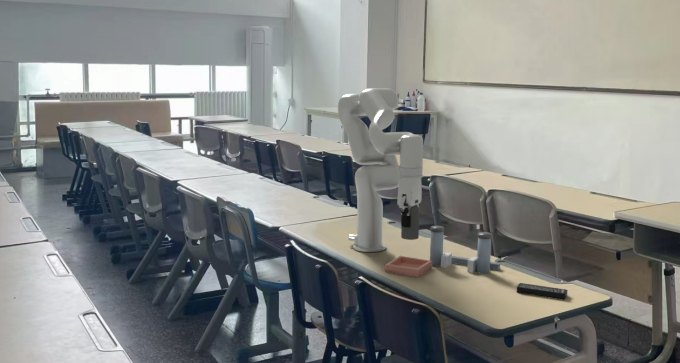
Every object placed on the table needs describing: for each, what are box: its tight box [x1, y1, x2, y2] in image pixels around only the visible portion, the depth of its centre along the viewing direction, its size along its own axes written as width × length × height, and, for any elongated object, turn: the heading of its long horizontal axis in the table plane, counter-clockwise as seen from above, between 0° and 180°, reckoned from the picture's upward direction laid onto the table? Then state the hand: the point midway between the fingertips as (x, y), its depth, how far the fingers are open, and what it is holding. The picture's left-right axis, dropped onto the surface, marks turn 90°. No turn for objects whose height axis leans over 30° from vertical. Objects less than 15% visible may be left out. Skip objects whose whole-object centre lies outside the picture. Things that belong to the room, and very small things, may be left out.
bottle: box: [400, 200, 420, 241], centre depth 229 cm, size 6×6×15 cm
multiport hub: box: [516, 282, 568, 301], centre depth 208 cm, size 4×14×2 cm, turn 63°
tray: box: [384, 255, 433, 278], centre depth 232 cm, size 12×12×2 cm
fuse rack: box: [429, 225, 501, 274], centre depth 235 cm, size 25×8×13 cm, turn 60°
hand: (410, 224), depth 229 cm, fingers closed on bottle, 5 cm apart
